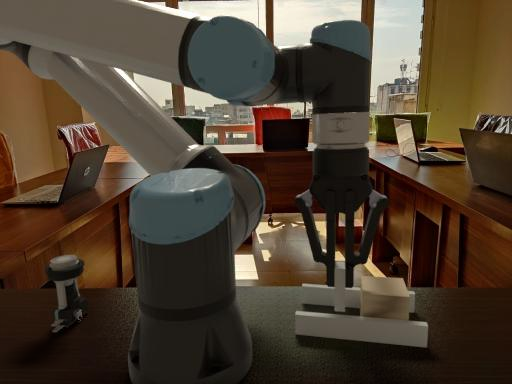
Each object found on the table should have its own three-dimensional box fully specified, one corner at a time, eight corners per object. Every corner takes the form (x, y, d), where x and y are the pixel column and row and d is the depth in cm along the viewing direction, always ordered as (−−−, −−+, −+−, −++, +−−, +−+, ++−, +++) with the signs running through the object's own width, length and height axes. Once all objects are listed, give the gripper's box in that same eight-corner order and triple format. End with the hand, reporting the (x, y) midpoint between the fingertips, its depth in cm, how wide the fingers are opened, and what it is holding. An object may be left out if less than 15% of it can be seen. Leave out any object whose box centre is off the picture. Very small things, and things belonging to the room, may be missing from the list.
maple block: (361, 333, 52) (362, 293, 51) (359, 312, 58) (360, 275, 57) (407, 338, 51) (409, 297, 50) (401, 315, 56) (402, 278, 55)
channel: (295, 334, 52) (295, 314, 52) (302, 300, 62) (302, 283, 61) (426, 347, 48) (428, 326, 48) (412, 309, 58) (413, 291, 57)
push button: (70, 336, 53) (61, 270, 51) (37, 334, 54) (27, 268, 52) (97, 312, 60) (90, 253, 58) (67, 310, 60) (59, 252, 59)
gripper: (288, 149, 49) (292, 316, 53) (395, 147, 46) (389, 323, 50) (295, 145, 56) (298, 292, 60) (387, 142, 53) (383, 298, 57)
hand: (339, 306), depth 55 cm, fingers closed
